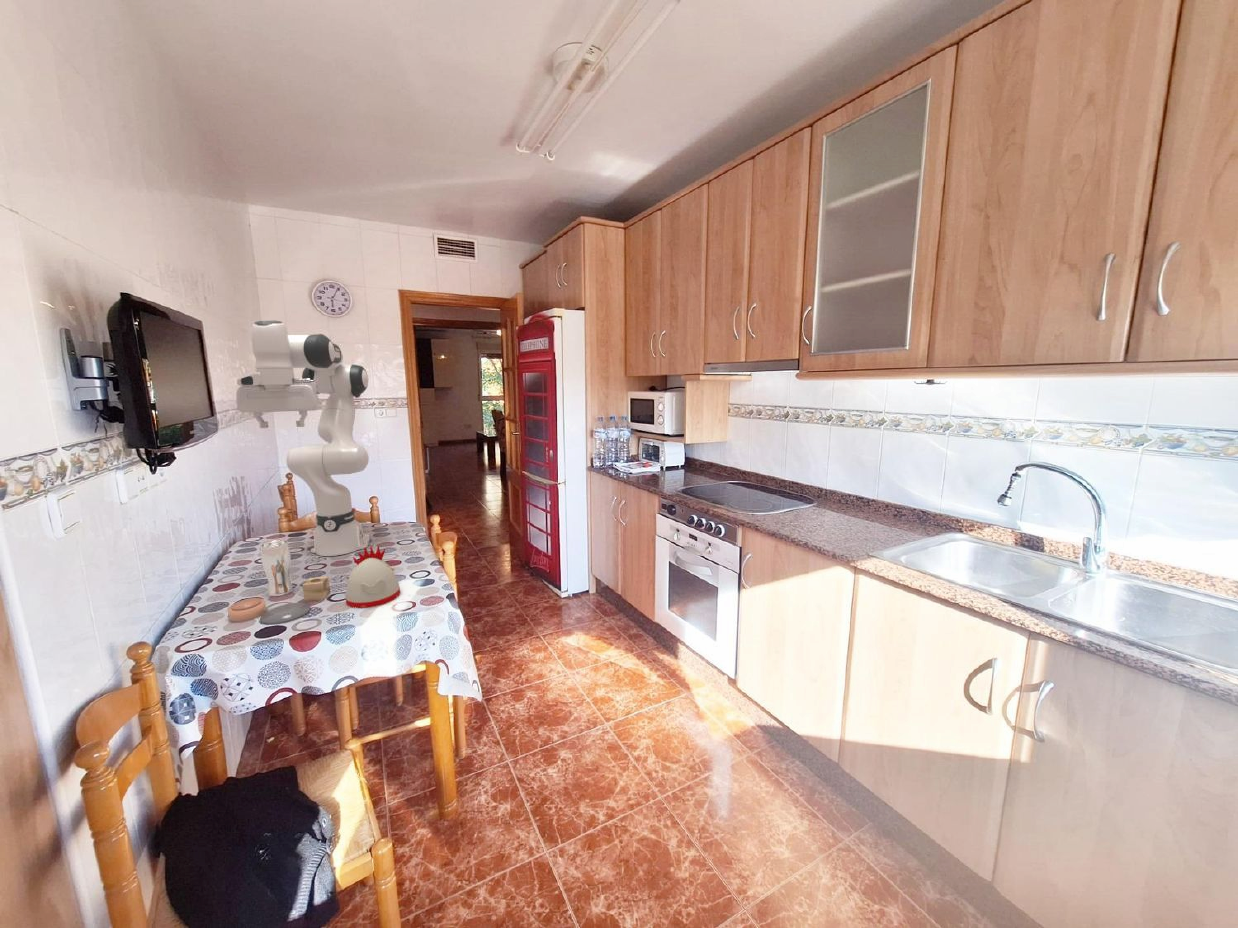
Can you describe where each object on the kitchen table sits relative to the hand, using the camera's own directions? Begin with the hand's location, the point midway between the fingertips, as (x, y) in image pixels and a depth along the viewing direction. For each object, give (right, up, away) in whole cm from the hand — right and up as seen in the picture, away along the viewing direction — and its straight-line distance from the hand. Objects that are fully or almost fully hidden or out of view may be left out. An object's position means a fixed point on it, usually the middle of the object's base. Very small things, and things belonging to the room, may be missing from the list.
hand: (282, 427), depth 142 cm
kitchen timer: (+27, -49, -2) cm, 56 cm away
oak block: (+11, -49, -1) cm, 50 cm away
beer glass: (-2, -49, +2) cm, 49 cm away
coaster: (+9, -51, -12) cm, 53 cm away
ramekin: (-1, -51, -11) cm, 52 cm away
